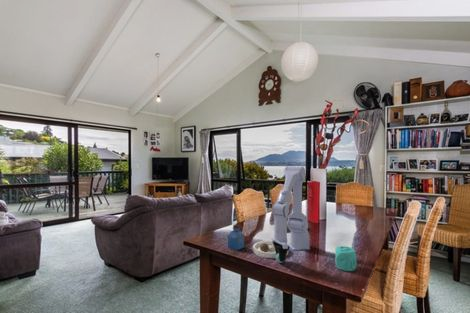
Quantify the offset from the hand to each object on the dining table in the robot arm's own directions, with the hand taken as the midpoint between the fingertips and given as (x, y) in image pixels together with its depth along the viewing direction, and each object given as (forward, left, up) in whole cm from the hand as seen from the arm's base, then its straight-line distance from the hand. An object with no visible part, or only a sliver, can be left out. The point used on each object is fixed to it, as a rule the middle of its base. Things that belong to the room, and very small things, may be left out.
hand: (280, 259), depth 113 cm
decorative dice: (-27, +8, -2) cm, 28 cm away
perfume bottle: (+18, -22, -2) cm, 28 cm away
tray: (+1, -14, -2) cm, 14 cm away
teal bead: (0, 0, -2) cm, 2 cm away
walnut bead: (+5, -10, -1) cm, 11 cm away
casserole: (-23, -56, -2) cm, 61 cm away
